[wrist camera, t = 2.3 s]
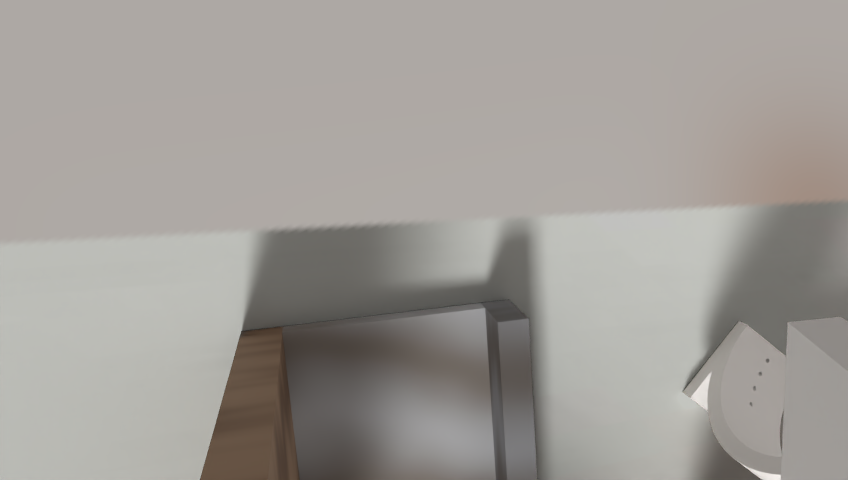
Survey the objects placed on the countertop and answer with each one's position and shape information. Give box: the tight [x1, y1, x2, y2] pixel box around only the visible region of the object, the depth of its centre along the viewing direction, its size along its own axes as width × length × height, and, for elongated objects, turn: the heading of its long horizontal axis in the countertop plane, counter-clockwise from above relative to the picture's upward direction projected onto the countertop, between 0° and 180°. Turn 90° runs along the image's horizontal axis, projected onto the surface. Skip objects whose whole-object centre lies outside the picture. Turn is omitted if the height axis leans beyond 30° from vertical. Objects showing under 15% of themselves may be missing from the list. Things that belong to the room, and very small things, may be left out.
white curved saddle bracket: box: [683, 321, 786, 480], centre depth 35 cm, size 5×6×12 cm
